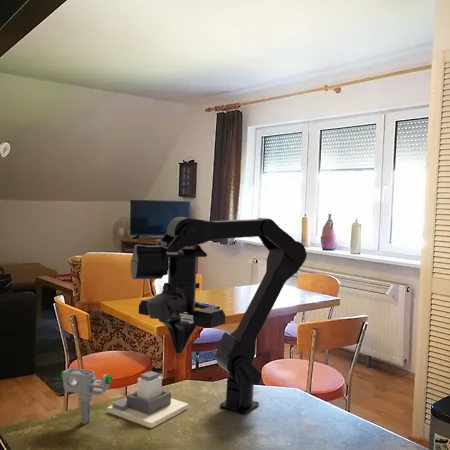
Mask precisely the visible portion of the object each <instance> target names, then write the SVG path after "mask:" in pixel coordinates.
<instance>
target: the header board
mask: <svg viewBox="0 0 450 450" xmlns="http://www.w3.org/2000/svg"><path fill="white" fill-rule="evenodd" d="M189 404H190V403H187V402H184V401H181V400H178V399H174V398H172V392H170V391H167V390H164V389H161V396H159V397H157V398H155V399H153V400H151V401H147V400H144V399H141V398H138V397H137V390H136V391H134V392H131V393H129V394H127V395H126V399H123V398H122V399H120V400H116V401H115V402H113V403H112V405H109V406H108V407H107V413H108V414H111V415H115V416H117V417H119V418H123V419H125V420H128V421H130V422H133V423H135V424H139V425H141V426H144V427H147V428H149V429H152V428H154V427H157V426H158V425H160V424H162V423H164V422H166V421H168V420H169V419H171V418H173V417H175V416H177V415H179V414H181V413H182V412H185V411H186V410H188V409H189V406H190V405H189Z"/></svg>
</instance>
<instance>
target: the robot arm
mask: <svg viewBox="0 0 450 450" xmlns="http://www.w3.org/2000/svg"><path fill="white" fill-rule="evenodd" d="M253 237H254V238H256V237H257V238H259V240H260V241H261V243H262V244H263V246H264V248H266V249H267V250H268V251H269V252H268V254H267V257H266V269H265V270H266V271H265V273H264V275H263V277H262V280H261V281H260V284H259V285H258V287H257V289H256V291H255V293H254V295H253V297H252V299H251V301H250V302H249V304H248V307H247V308H246V311H245V312H244V315H243V316H242V318H241V320H240V322H239V323H238V326H237V328H236V329H235V330H234V331H233V332H231V333H228V332H223V334H222V336H221V339H220V341H219V343H218V344H217V345H216V346H215V349H216V353H215V359H216V363H217V364H218V366H219V367H220V368H222V371H223V374H225V375H227V376H228V377H227V380H226V390H225V392H226V394H225V400H224V401H222V402H221V403H220V404H219V407H221V408H224V409H227V410H230V411H234V412H237V413H240V414H243V415H244V414H247V413H248V412H250V411H252V410H253V409H255V408H257V407H258V406H259V405H260V402H259V401H255V400H254V389H255V388H254V385H258V384H260V381H261V378H262V373H261V372H260V371H259V370H258V369H257V368H256V367H255V366H254V365H253V363H254V359H255V356H256V350H257V349H256V345H257V339H258V337H259V334H260V333H261V332H262V328H264V325H265V323H266V321H267V319H268V317H269V315H270V313H271V312H272V309H273V308H274V305H275V303H276V301H277V299H278V297H279V295H280V293H281V291H282V289H283V288H284V286H285V284H286V282H287V281H288V280H290V278H292V277H293V276H294V275H296V274H297V273H298V271H299V270H300V268H301V267H302V266H303V265H304V263H305V261H306V259H307V255H308V254H307V251H306V248H305V246H304V244H303V243H302V242H299V241H296V240H295V239H294V238H293V237H292V236H291V235H290V234H288V233H287V232H286V231H285V230H283V229H282V228H281V227H280V226H279V225H278V224H277V223H276V222H275V221H274V220H273V219H271V218H265V217H257V218H254V219H253V218H250V219H249V218H248V219H233V220H231V219H229V220H204V219H200V218H199V219H197V218H192V217H184V216H177V217H174V218H172V219H171V220H170V222H169V223H168V224H167V228H166V232H165V233H164V235H163V236H162V237H161V239H160V240H159V241H158V243H157V244H156V245H143V244H135V245H134V246H133V247H134V248H133V253H132V256H131V260H130V274H131V278H132V279H133V280H160V279H163V277H164V276H167V277H168V278H167V282H164V283H163V285H162V292H159V293H158V294H156V295H155V296H153V297H152V298H151V297H150V298H147V299H141V301H140V303H139V305H138V311H137V313H138V314H139V315H142V316H148V317H149V319H152V320H154V319H155V320H158V321H159V323H162V324H163V325H164V326H166V328H167V329H168V332H169V335H170V338H171V341H172V344H173V346H174V350H175V353H176V354H178V355H180V354H182V353H183V352H184V350H185V348H186V345H187V344H188V341H189V339H190V337H191V336H192V334H193V332H194V330H196V328H197V327H200V328H203V329H204V328H205V329H212V328H216V327H219V326H222V325H225V324H226V312H225V311H224V309H220V308H215V307H210V306H209V307H208V306H207V307H205V308H202V309H196V308H199V304H200V303H199V302H198V301H196V289H200V282H197V265H198V264H197V263H198V262H197V261H198V258H206V257H207V256H208V254H207V252H205V251H204V250H203V248H202V247H201V245H202V244H206V243H208V242H210V241H211V242H212V241H214V240H222V239H223V240H224V239H237V238H240V239H241V238H253ZM187 247H188V248H187ZM190 247H191V248H190Z"/></svg>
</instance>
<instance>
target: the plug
mask: <svg viewBox="0 0 450 450" xmlns="http://www.w3.org/2000/svg"><path fill="white" fill-rule="evenodd" d="M162 383H163V377H162V376H160V373H159V372H155V371H151V370H150V371H146V372H145V373H142V374H140V377H139V378H137V387H136V389H137V390H136V391H137V397H138V398H141V399H144V400H147V401H151V400H153V399H155V398H157V397H159V396H161V390H163V389H162V387H163V386H162Z"/></svg>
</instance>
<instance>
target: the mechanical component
mask: <svg viewBox="0 0 450 450" xmlns="http://www.w3.org/2000/svg"><path fill="white" fill-rule="evenodd" d="M60 379H61V380H62V381H63V382H62V383H63V385H62V386H63V389H64V390H65V391H66V392H67V393H76V394H79V398H78V400H79V401H80V402H81V409H80V410H81V412H80V413H81V414H80V417H81V418H80V423H81V424H84V425H85V424H87V425H88V422H90V413H91V412H90V409H91V403H90V402H92V400H93V396H102V395H103V394H104V393H105V392H106V391H108V390H109V389H110V385H111V384H112V383H113V376H112V375H110V374H107V373H105V374H103V375H102V377H101V379H97V375H95V371H94V370H92V369H91V370H90V369H82V368H72V367H69V368H68V369H66V370H64V369H63V370H62V371H61V372H60ZM98 387H99V388H98Z"/></svg>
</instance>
